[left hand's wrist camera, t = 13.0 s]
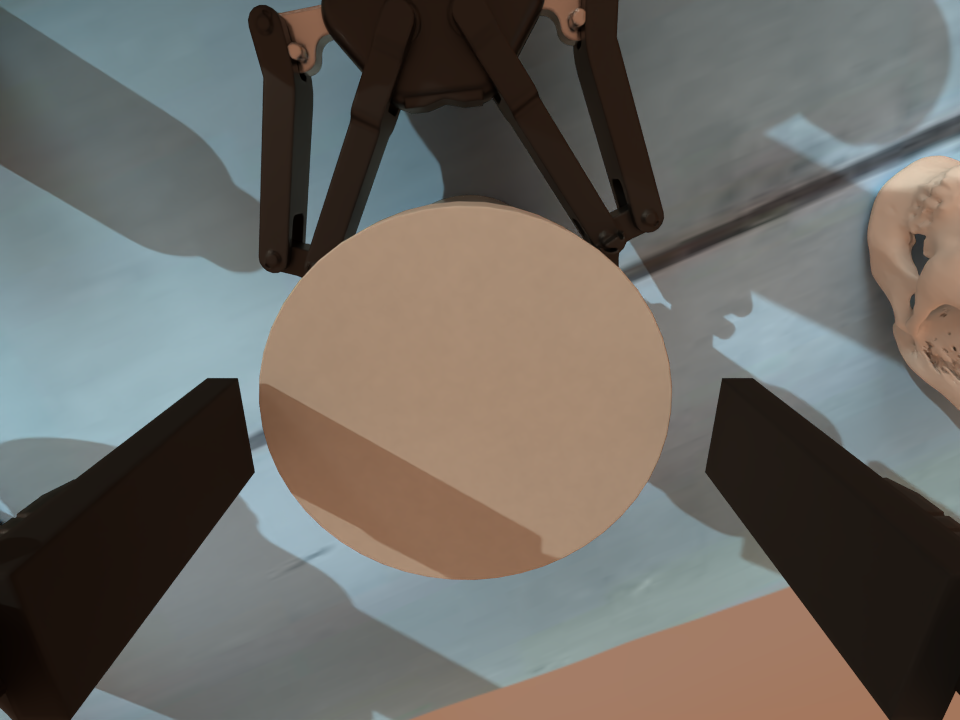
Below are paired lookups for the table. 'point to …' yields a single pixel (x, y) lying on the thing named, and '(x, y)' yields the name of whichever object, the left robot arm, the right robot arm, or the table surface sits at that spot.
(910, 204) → the skull bowl
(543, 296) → the lid
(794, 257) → the table surface
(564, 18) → the right robot arm
